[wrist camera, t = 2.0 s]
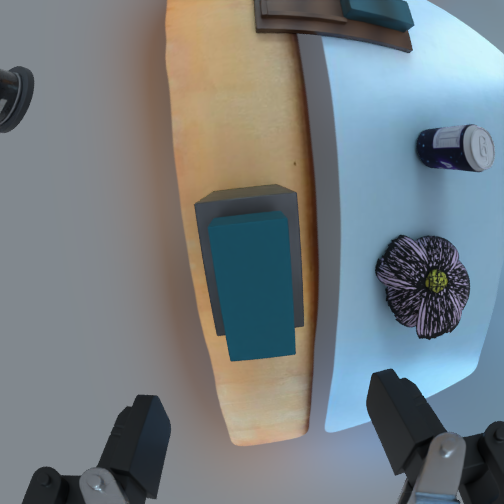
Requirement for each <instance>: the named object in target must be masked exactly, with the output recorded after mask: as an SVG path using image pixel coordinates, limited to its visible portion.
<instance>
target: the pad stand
mask: <svg viewBox="0 0 504 504" xmlns="http://www.w3.org/2000/svg"><path fill="white" fill-rule="evenodd" d="M194 206H195V213H196V219H197V226H198V233H199V239H200V245H201V251H202V258H203V263H204V269H205V275H206V281H207V286H208V292H209V297H210V303H211V308H212V313H213V318H214V323H215V328H216V333H217V336H222V335H225V330H224V324H223V319H222V313H221V308H220V302H219V296H218V290H217V285H216V279H215V272H214V266H213V260H212V254H211V247H210V241H209V234H208V226H209V224H210V223H211V221H212V220H213V218H218V217H226V216H235V215H244V214H252V213H262V212H271V211H281V212H282V213H283V214H284V215H285V216H286V217H287V218H288V228H289V241H290V254H291V269H292V285H293V303H294V324H295V328H296V327H303V326H304V306H303V281H302V261H301V244H300V229H299V215H298V202H297V193H296V192H294V191H292V190H290V189H287V188H285V187H282V186H280V185H277V184H274V185H264V186H254V187H245V188H237V189H228V190H220V191H213V192H212V193H210V194H209V195H207V196H206V197H204V198H203V199H201V200H200V201H198V202H197V203H195V204H194Z"/></svg>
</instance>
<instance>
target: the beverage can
mask: <svg viewBox="0 0 504 504" xmlns="http://www.w3.org/2000/svg"><path fill="white" fill-rule="evenodd" d="M417 151H418V155H419V157H420V159H421V161H422V162H423V163H424V164H425V165H426V166H428V167H430V168H440V169H452V170H463V171H473V172H482V171H484V170H486V169H489V168H490V167H491V166H492V165H493V162H494V159H495V147H494V143H493V140H492V138H491V136H490V134H489V133H488V131H487V130H485V129H484V128H482V127H478V126H476V125H473V124H471V125H461V126H452V127H443V128H436V129H428V130H424V131H423V132H421V133H420V135H419V137H418V140H417Z"/></svg>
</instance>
